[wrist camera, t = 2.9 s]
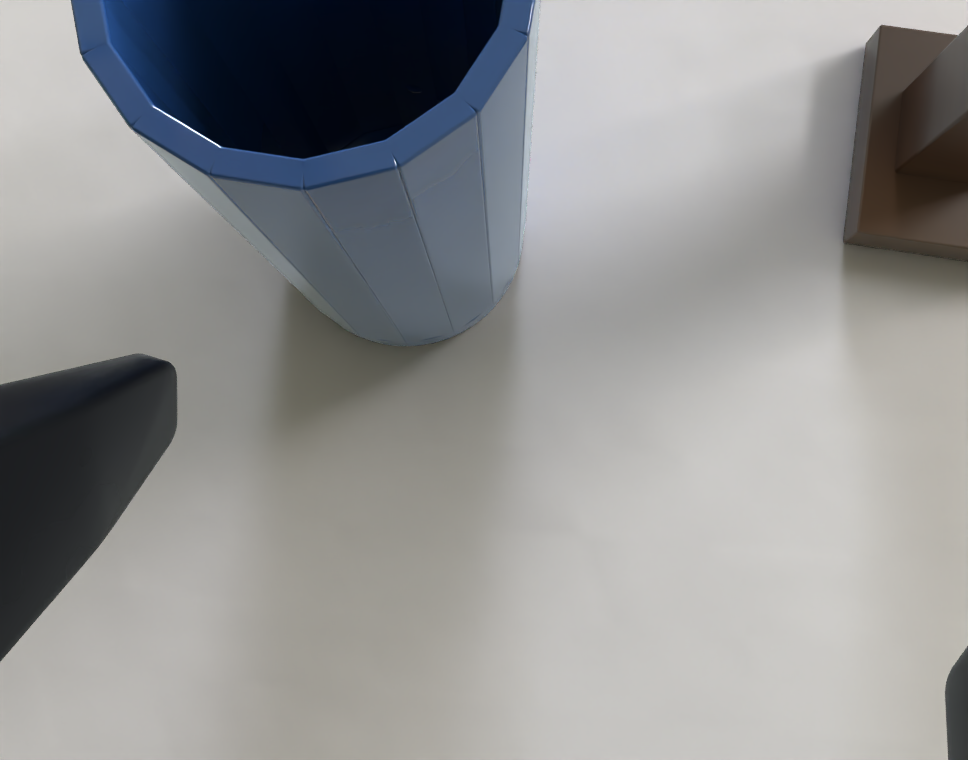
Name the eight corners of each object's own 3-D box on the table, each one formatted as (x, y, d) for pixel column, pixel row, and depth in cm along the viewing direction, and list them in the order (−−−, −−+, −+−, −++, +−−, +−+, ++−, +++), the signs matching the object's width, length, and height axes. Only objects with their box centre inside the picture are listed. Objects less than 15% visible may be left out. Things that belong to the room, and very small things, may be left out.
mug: (503, 364, 23) (497, 220, 11) (273, 327, 23) (19, 147, 11) (559, 22, 24) (611, -449, 12) (342, -8, 25) (179, -496, 13)
